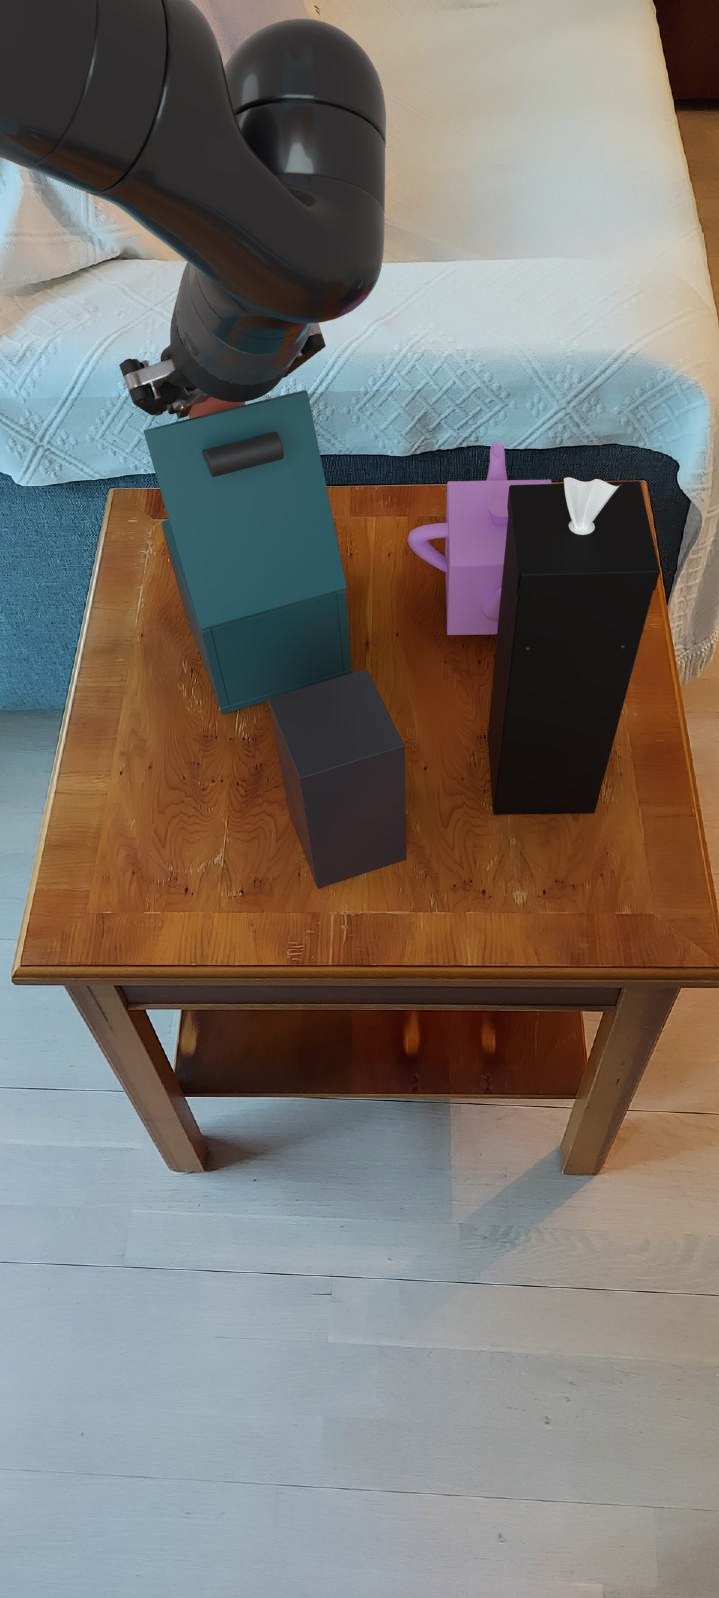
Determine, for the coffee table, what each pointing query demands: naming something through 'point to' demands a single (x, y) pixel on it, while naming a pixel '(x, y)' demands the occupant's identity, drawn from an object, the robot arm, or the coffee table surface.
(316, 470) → the case lid
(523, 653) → the tissue box
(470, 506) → the teapot
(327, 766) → the stand
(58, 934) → the coffee table surface
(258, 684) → the wipes case
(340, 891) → the coffee table surface
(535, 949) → the coffee table surface
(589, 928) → the coffee table surface
